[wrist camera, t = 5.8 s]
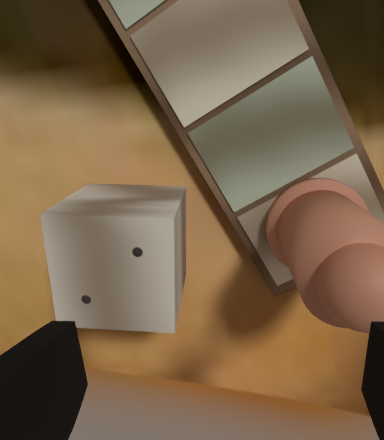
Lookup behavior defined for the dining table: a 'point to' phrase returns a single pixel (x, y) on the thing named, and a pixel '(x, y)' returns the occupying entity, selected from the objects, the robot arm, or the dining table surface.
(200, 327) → the dining table surface
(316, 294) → the pawn
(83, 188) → the die
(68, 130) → the dining table surface
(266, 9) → the board
